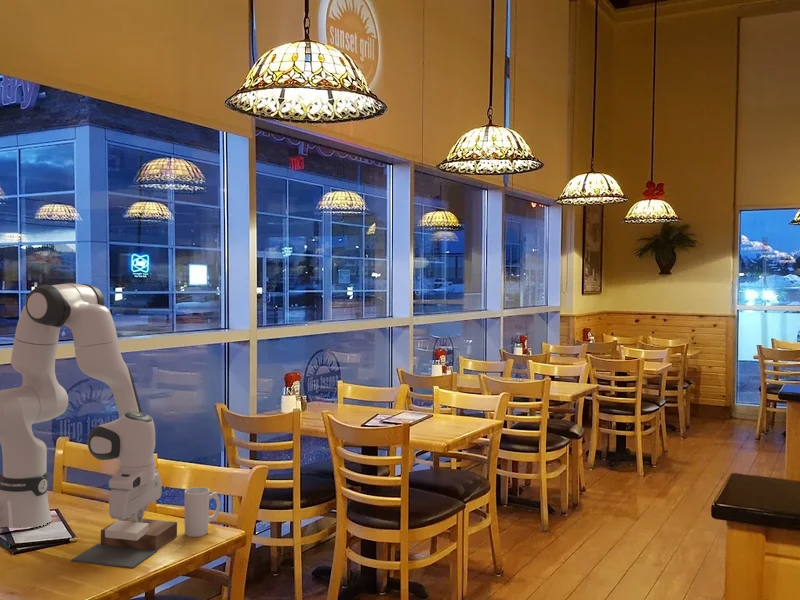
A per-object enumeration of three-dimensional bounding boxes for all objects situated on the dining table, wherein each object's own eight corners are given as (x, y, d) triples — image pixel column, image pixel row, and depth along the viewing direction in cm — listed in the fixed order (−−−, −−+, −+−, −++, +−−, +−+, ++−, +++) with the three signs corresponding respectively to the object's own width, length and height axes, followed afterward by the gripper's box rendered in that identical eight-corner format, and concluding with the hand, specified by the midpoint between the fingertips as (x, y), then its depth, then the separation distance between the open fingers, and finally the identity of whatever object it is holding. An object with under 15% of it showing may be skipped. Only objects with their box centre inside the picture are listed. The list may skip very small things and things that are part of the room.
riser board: (100, 544, 195) (100, 529, 195) (124, 530, 206) (124, 516, 205) (155, 551, 192) (156, 535, 191) (176, 536, 202) (177, 522, 202)
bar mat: (71, 561, 184) (71, 559, 184) (97, 545, 194) (97, 543, 194) (133, 568, 180) (133, 566, 180) (156, 552, 191) (156, 550, 191)
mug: (186, 538, 201) (187, 495, 200) (181, 531, 207) (181, 488, 206) (223, 533, 206) (224, 490, 205) (216, 525, 212) (217, 484, 211)
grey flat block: (105, 537, 190) (104, 529, 190) (118, 527, 196) (117, 520, 196) (137, 540, 189) (136, 533, 188) (149, 530, 194) (149, 523, 194)
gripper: (147, 463, 207) (146, 512, 208) (104, 483, 187) (103, 537, 187) (167, 465, 206) (166, 514, 206) (127, 485, 186) (126, 539, 186)
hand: (136, 525), depth 197 cm, fingers closed
